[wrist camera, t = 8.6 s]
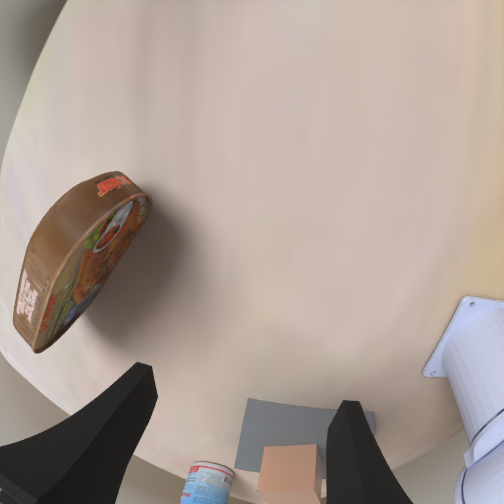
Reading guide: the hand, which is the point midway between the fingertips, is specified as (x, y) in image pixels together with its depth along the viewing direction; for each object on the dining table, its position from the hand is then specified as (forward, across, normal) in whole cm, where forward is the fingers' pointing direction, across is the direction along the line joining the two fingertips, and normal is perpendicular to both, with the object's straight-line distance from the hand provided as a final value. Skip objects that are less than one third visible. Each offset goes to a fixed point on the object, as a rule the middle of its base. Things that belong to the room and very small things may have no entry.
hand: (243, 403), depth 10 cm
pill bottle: (+10, +3, +33) cm, 35 cm away
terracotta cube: (+8, -5, +19) cm, 21 cm away
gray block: (+10, -6, +19) cm, 23 cm away
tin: (+10, +12, 0) cm, 16 cm away
